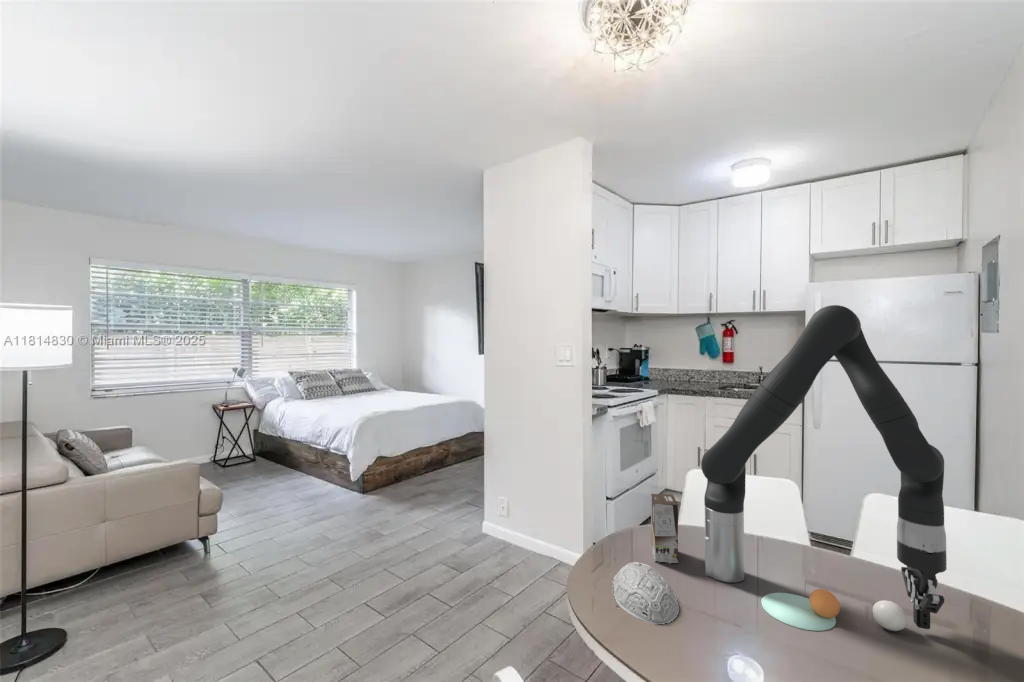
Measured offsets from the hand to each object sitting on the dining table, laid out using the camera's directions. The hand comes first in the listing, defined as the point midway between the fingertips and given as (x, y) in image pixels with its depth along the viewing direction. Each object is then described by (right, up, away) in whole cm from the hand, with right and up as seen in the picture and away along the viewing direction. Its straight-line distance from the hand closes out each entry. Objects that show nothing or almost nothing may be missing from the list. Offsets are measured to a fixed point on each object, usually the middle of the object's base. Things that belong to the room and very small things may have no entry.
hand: (921, 626), depth 93 cm
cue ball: (-5, +1, +2) cm, 6 cm away
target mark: (-20, -2, +8) cm, 22 cm away
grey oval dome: (-53, -3, +15) cm, 55 cm away
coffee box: (-41, -2, +35) cm, 54 cm away
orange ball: (-16, +1, +6) cm, 17 cm away
